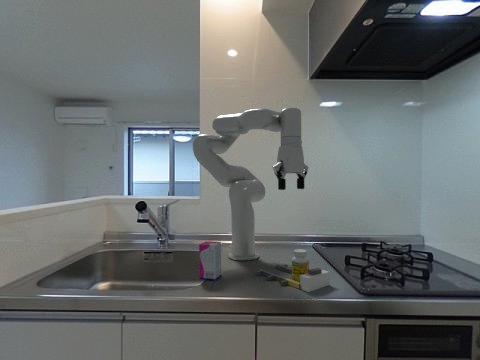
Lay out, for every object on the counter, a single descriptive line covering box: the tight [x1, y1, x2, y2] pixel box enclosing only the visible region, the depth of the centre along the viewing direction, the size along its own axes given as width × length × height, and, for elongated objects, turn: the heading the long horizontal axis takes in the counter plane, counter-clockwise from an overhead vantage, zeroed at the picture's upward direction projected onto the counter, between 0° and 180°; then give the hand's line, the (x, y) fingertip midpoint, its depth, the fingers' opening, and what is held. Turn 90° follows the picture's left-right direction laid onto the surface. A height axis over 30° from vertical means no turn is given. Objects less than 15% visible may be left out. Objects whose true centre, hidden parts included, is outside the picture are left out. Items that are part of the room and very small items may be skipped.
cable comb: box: [255, 263, 330, 293], centre depth 98 cm, size 22×14×5 cm, turn 36°
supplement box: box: [198, 240, 222, 282], centre depth 100 cm, size 6×6×12 cm
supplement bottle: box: [291, 248, 310, 283], centre depth 95 cm, size 5×5×10 cm
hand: (291, 189), depth 111 cm, fingers open, 9 cm apart
